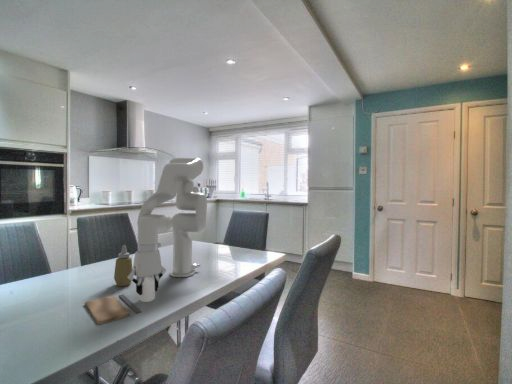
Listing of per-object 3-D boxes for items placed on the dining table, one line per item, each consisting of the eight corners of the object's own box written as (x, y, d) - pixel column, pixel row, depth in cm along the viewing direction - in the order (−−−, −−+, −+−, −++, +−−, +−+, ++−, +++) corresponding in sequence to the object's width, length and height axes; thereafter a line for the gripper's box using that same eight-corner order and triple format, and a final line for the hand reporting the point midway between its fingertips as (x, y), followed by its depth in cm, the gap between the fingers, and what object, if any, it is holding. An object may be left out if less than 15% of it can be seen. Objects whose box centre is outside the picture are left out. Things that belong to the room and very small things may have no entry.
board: (113, 297, 114) (113, 295, 114) (130, 315, 99) (130, 312, 99) (85, 304, 107) (85, 302, 107) (98, 324, 92) (98, 321, 92)
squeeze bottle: (137, 282, 131) (137, 244, 131) (123, 288, 123) (124, 248, 123) (123, 280, 134) (123, 243, 133) (109, 286, 126) (109, 246, 126)
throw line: (123, 295, 116) (123, 294, 116) (141, 312, 101) (141, 310, 101) (119, 296, 115) (119, 295, 115) (136, 313, 100) (136, 312, 100)
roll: (152, 272, 110) (137, 272, 109) (152, 302, 110) (137, 302, 110) (156, 267, 116) (142, 267, 115) (156, 296, 116) (142, 296, 116)
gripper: (164, 243, 121) (163, 284, 121) (122, 249, 109) (121, 294, 110) (172, 246, 115) (171, 289, 116) (128, 252, 104) (128, 300, 104)
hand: (147, 291), depth 113 cm, fingers closed on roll, 5 cm apart
